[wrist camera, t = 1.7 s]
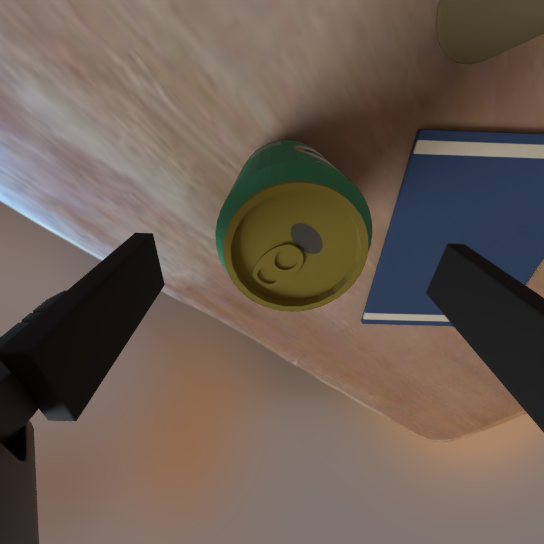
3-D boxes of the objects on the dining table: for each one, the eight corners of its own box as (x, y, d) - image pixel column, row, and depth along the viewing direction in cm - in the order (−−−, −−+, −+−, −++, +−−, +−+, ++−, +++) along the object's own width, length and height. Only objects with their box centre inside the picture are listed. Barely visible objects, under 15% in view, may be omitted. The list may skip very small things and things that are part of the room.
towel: (417, 128, 20) (421, 129, 19) (620, 136, 20) (627, 137, 19) (360, 320, 30) (362, 323, 30) (493, 324, 31) (496, 327, 30)
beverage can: (349, 190, 22) (414, 256, 12) (283, 248, 25) (290, 340, 15) (287, 114, 19) (303, 116, 9) (219, 190, 22) (175, 256, 12)
